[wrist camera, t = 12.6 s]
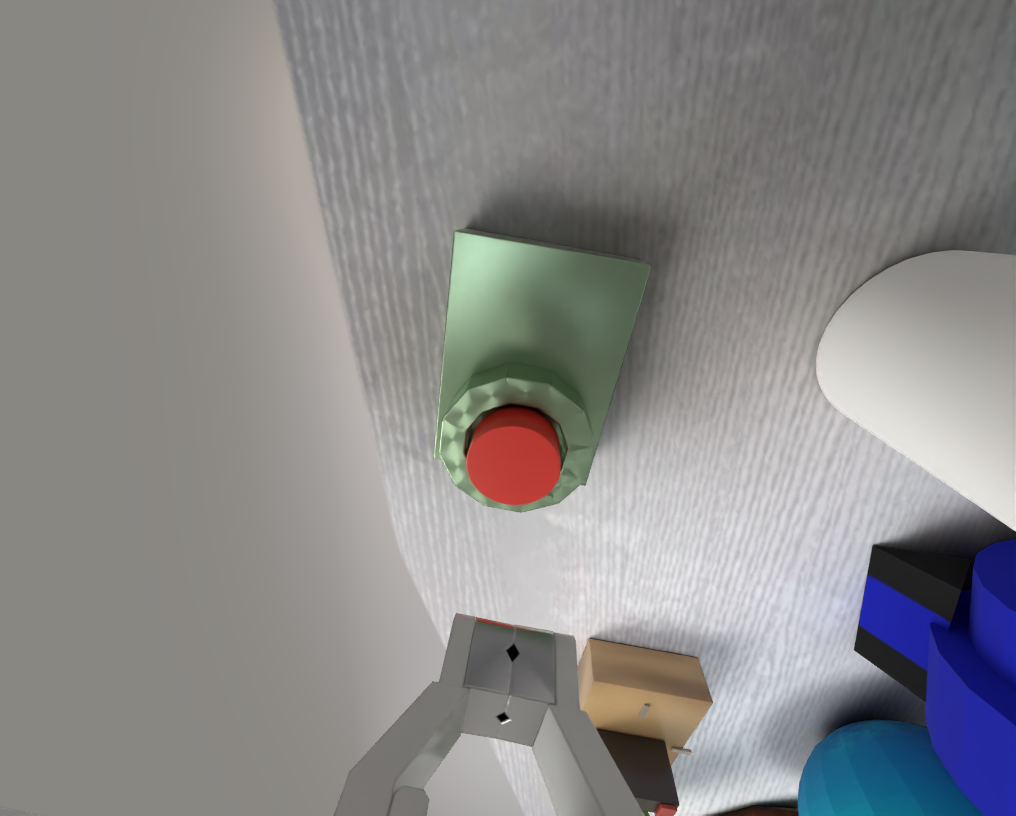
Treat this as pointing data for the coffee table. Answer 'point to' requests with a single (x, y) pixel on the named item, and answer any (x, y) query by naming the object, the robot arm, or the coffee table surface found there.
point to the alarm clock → (952, 657)
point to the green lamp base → (533, 346)
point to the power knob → (644, 770)
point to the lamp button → (514, 456)
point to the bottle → (934, 369)
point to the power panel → (643, 692)
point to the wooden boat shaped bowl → (765, 811)
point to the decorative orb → (879, 774)
